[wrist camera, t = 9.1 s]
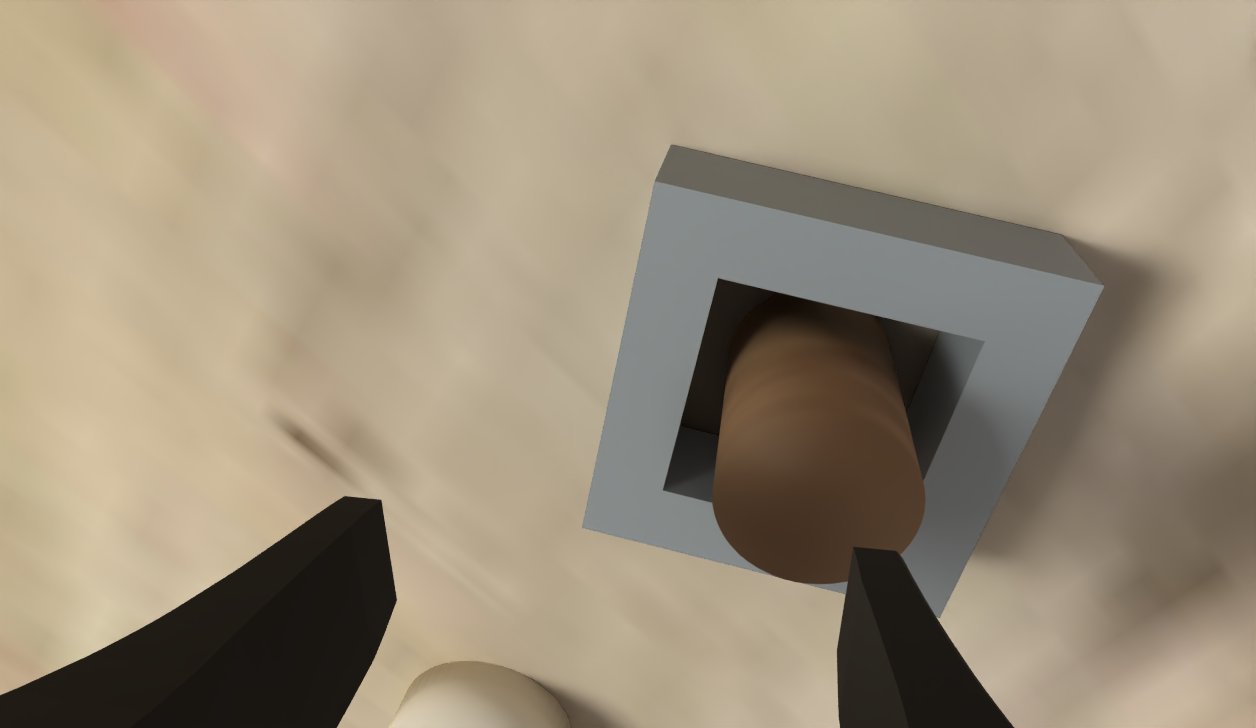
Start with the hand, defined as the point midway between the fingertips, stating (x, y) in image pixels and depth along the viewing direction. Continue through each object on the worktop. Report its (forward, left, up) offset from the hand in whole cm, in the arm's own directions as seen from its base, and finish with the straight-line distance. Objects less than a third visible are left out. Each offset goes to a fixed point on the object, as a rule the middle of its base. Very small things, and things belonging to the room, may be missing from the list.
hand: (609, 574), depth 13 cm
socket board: (-4, +1, -10) cm, 10 cm away
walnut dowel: (-4, +1, -10) cm, 11 cm away
